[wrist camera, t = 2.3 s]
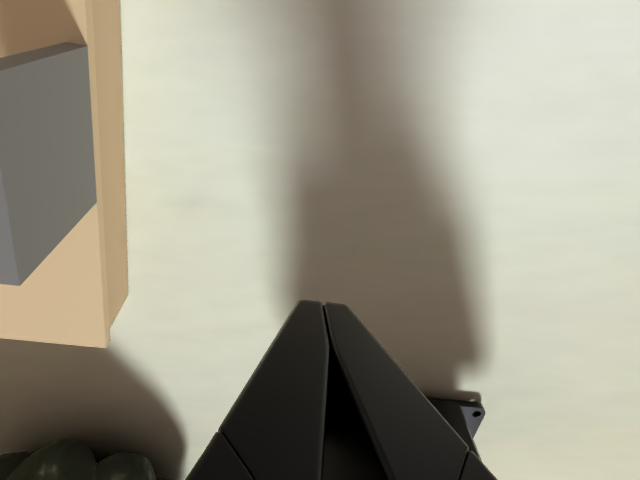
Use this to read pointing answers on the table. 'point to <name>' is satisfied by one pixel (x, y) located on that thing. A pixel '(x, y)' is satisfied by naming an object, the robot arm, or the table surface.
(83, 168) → the lid
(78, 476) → the squash
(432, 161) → the table surface
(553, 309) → the table surface
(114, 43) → the cardboard box
